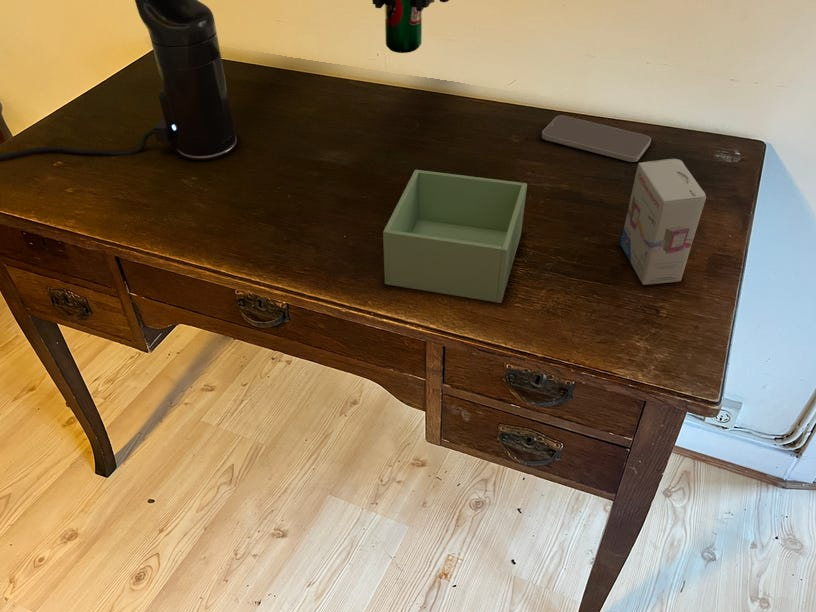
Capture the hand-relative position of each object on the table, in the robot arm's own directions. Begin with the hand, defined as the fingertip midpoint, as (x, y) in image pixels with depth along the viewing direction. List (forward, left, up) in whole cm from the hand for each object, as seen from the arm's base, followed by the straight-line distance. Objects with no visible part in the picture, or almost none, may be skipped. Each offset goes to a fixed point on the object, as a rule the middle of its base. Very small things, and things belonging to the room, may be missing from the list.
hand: (398, 1), depth 97 cm
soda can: (0, +3, -7) cm, 8 cm away
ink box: (+37, -20, -22) cm, 47 cm away
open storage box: (+14, -25, -21) cm, 36 cm away
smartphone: (+28, +9, -21) cm, 37 cm away
